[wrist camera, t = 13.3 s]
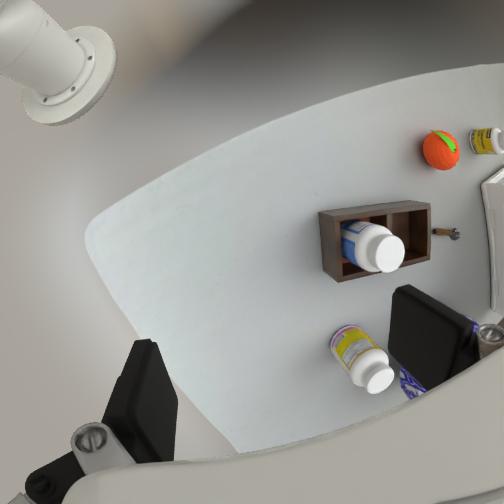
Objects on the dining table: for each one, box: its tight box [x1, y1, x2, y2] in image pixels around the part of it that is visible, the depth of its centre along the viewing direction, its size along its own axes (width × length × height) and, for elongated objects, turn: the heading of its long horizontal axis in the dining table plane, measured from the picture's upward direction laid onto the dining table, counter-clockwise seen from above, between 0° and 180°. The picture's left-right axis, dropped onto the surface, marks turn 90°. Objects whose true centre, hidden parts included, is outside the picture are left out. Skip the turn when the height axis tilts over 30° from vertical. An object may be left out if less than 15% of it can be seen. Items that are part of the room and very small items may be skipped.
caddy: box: [318, 200, 431, 283], centre depth 39 cm, size 9×17×6 cm, turn 98°
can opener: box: [432, 228, 460, 240], centre depth 44 cm, size 9×2×1 cm, turn 81°
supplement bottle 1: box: [330, 325, 394, 394], centre depth 40 cm, size 7×7×13 cm
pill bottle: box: [340, 219, 405, 273], centre depth 36 cm, size 6×6×11 cm
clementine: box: [423, 130, 459, 170], centre depth 37 cm, size 8×7×7 cm
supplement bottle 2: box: [469, 128, 504, 154], centre depth 36 cm, size 5×5×10 cm
